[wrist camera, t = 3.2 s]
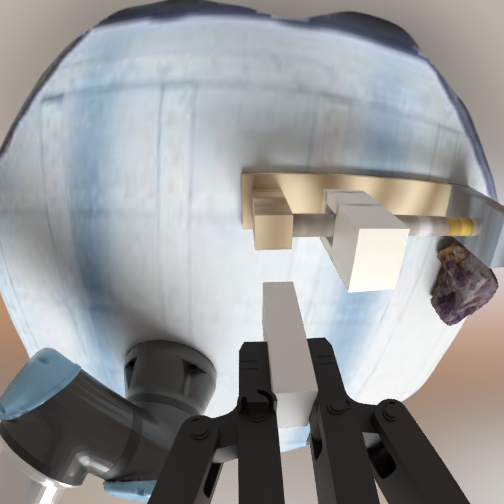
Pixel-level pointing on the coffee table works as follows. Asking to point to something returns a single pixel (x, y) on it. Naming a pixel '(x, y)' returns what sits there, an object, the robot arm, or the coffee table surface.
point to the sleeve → (364, 241)
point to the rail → (383, 191)
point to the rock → (461, 284)
